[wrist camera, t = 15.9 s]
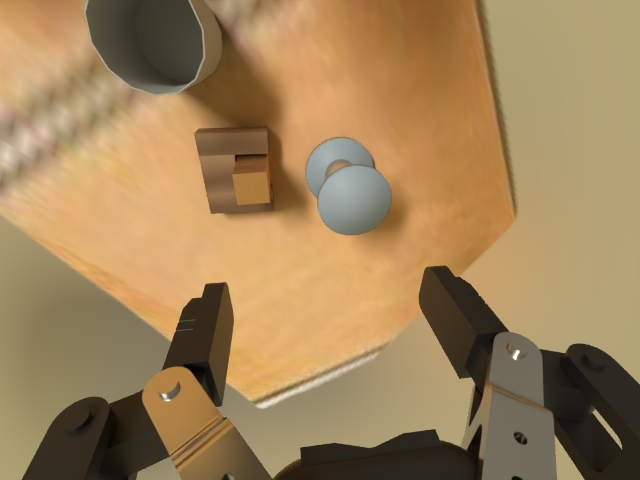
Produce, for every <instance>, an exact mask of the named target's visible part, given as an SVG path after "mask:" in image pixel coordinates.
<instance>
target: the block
mask: <svg viewBox="0 0 640 480" xmlns="http://www.w3.org/2000/svg"><path fill="white" fill-rule="evenodd" d="M232 177H233V183H234V188H235V193H236V199H237V204H238V205H245V204H258V203H270V180H271V176H270V167H269V159H268V154H241V155H238V157H237V160H236V163H235V166H234V170H233V173H232Z"/></svg>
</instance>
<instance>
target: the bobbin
mask: <svg viewBox="0 0 640 480" xmlns="http://www.w3.org/2000/svg"><path fill="white" fill-rule="evenodd" d="M306 180H307V184H308V186H309V189H310V190H311V192H312V193H313V195H314V196H315V197H316V198H317V206H318V210H319V214H320V217H321V219H322V221H323V222H324V223H325V225H326V226H327V227H328V228H330V229H331V230H332V231H334V232H336V233H339V234H343V235H359V234H363V233H366V232H368V231H370V230H372V229H373V228H375V227H376V226H377V225H379V224H380V223H381V222H382V221H383V219H384V218H385V217H386V215H387V213H388V211H389V209H390V206H391V200H392V195H391V189H390V186H389V184H388V182H387V181H386V179H385V178H384V177H383V176H382V174H381V173H380V172H378V171H377V170H376V169H374V167H373V161H372V158H371V156H370V154H369V152H368V151H367V150H366V149H365V147H364V146H363V145H361V144H360V143H359V142H357V141H355V140H353V139H350V138H346V137H336V138H332V139H329V140H326V141H324V142H323V143H321V144H320V145H318V146H317V147H316V148H315V149H314V150H313V152H312V153H311V155H310V156H309V158H308V161H307V164H306Z"/></svg>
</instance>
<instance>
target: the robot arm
mask: <svg viewBox="0 0 640 480" xmlns="http://www.w3.org/2000/svg"><path fill="white" fill-rule="evenodd" d="M419 304H420V308H421V310H422V312H423V314H424V315H425V317H426V319H427V321H428V323H429V324H430V326H431V328H432V330H433V332H434V334H435V335H436V337H437V339H438V341H439V343H440V344H441V346H442V348H443V350H444V352H445V353H446V355H447V357H448V359H449V360H450V362H451V364H452V366H453V367H454V370H455V371H456V373H457V375H458V377H459V379H461V378H469V377H472V379H473V381H474V382H475V383H474V386H473V389H472V394H471V401H470V406H469V412H468V417H467V424H466V429H465V434H464V437H463V441H462V444H461V447H459V446H457V445H454V444H452V443H449V442H445V441H441V440H439V437H438V435H437V433H436V430H435V429H433V430H425V431H419V432H411V433H403V434H401V435H399V436H397V437H395V438H393V439H391V440H389V441H387V442H384V443H382V444H380V445H378V446H376V447H373V448H365V447H359V446H352V445H345V444H338V443H331V444H323V445H316V446H310V447H302V448H300V450H301V458H300V459H298V460H296V461H294V462H292V463H291V464H289V465H288V466H287V467H285V468H284V469H283V470H282V471H280V472H279V473H278V474H277V475H276V476H275V477H274V478H273V479H272V478H271V476H270V475H269V474H268V472H267V471H266V469H265V468H264V467H263V465H262V464H261V463H260V461H259V460H258V458H257V457H256V456H255V454H254V453H253V451H252V450H251V449H250V447H249V446H248V445H247V443H246V442H245V440H244V439H243V437H242V436H241V435H240V433H239V432H238V430H237V429H236V428H235V426H234V425H233V424H232V422H231V421H230V420H229V419H228V418H224V417H223V416H222V415H221V414H220V412H219V411H218V410H217V408H216V407H219V406H222V403H223V396H224V389H225V382H226V375H227V368H228V361H229V354H230V347H231V340H232V333H233V325H234V316H233V309H232V304H231V299H230V294H229V289H228V285H227V283H226V282H223V283H210V284H206V285H205V288H204V291H203V295H202V298H192V299H191V300H190V302H189V303H188V304H187V305H186V306H185V307H184V308H183V310H182V313H181V316H180V319H179V323H178V325H177V328H176V332H175V334H174V337H173V340H172V343H171V346H170V349H169V351H168V354H167V357H166V361H165V363H164V366H163V369H162V371H161V372H159V373H158V374H156V375H155V376H154V377H153V378H152V379H151V380H150V381H149V382H148V383H147V385H146V386H145V389H143V390H142V391H140V392H138V393H135V394H134V395H131V396H128V397H125V398H123V399H120V400H118V401H115V402H113V403H110V404H108V402H107V401H106V400H105V399H103V398H101V397H88V398H84V399H82V400H79V401H77V402H75V403H73V404H72V405H70V406H69V407H67V408H66V409H65V410H63V411H62V412H61V413H60V414H59V415H58V416H57V417H56V418H55V420H54V421H53V422H52V424H51V425H50V427H49V429H48V431H47V433H46V435H45V437H44V439H43V441H42V442H41V444H40V446H39V448H38V450H37V452H36V454H35V455H34V457H33V459H32V461H31V463H30V465H29V467H28V469H27V471H26V473H25V475H24V476H23V478H22V480H136V477H137V473H138V471H140V470H142V469H145V468H146V467H149V466H151V465H153V464H155V463H157V462H159V461H161V460H163V459H166V458H167V457H171V459H172V461H173V464H174V466H175V468H176V469H177V471H178V473H179V475H180V477H181V479H182V480H557V474H556V455H555V437H554V434H555V435H556V437H557V438H558V440H559V442H560V443H561V445H562V446H563V448H564V449H565V451H566V452H567V453H568V455H569V457H570V458H571V460H572V461H573V462H574V464H575V466H576V467H577V469H578V470H579V472H580V473H581V475H582V476H583V478H584V479H585V480H640V384H639V383H638V382H637V381H635V379H634V378H633V377H631V375H630V374H628V372H627V371H625V370H624V368H623V367H621V366H620V365H619V364H618V363H617V362H616V361H615V360H614V359H613V358H612V357H611V356H609V355H608V354H607V353H605V352H604V351H602V350H600V349H598V348H596V347H593V346H590V345H586V344H573V345H571V346H570V347H569V348H568V349H567V351H566V353H560V352H554V351H548V350H542V349H538V347H537V346H536V345H535V344H534V343H533V342H532V341H530V340H529V339H527V338H526V337H524V336H522V335H519V334H516V333H512V332H509V331H508V329H507V328H506V327H505V326H504V325H503V323H502V322H501V321H500V320H499V318H498V317H497V316H496V315H495V314H494V312H493V311H492V310H491V309H490V308H489V306H488V305H487V304H485V301H484V300H483V299H482V298H481V296H479V295H478V293H477V292H476V290H475V289H474V288H473V287H472V286H471V284H469V283H468V282H466V281H465V280H463V279H462V278H460V277H455V276H454V275H453V273H452V272H451V271H450V270H449V268H448V267H447V266H433V267H426V269H425V271H424V275H423V279H422V284H421V288H420V292H419ZM595 409H596V410H597V411H598V412H599V414H600V415H601V416H602V417H603V419H604V420H605V421H606V422H607V423H608V424H609V426H610V427H611V428H612V429H613V431H614V432H615V433H616V434H617V436H618V437H619V439H620V441H621V444H622V449H621V448H620V447H619V445H618V444H617V443H616V442H615V440H614V439H613V438H612V437H611V435H610V434H609V433H608V432H607V431H606V429H605V428H604V427H603V425H602V424H601V423H600V422H599V421H598V419H597V418H596V417H595V415H594V414H593V413H592V412H593V411H594V410H595Z"/></svg>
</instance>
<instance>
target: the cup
mask: <svg viewBox="0 0 640 480" xmlns="http://www.w3.org/2000/svg"><path fill="white" fill-rule="evenodd" d="M84 16H85V20H86V25H87V29H88V34H89V38H90V43H91V44H92V46H93V47H94V49H95V50H96V52H97V54H98V55H99V57H100V58H101V60H102V61H103V63H104V64H105V66H106V68H107V69H108V70H109V71H110V72H111V73H113V74H114V75H115V76H116V77H118V78H119V79H120V80H121V81H123V82H124V83H125V84H126V85H128V86H129V87H130V88H132V89H135V90H138V91H141V92H144V93H147V94H151V95H154V96H162V95H170V94H178V93H180V92H182V91H184V90H186V89H188V88H190V87H192V86H194V85H196V84H198V83H200V82H202V81H203V80H204V79H206V78H207V77H208V76H210V75H211V74H212V73H213V72H215V71H216V68H217V66H218V64H219V61H220V59H221V57H222V54H223V51H222V32H221V30H220V28H219V25H218V23H217V21H216V18H215V16H214V14H213V11H212V10H211V9H210V8H209V7H208V6H207V5H206V4H205V3H204V2H203V1H202V0H86V4H85V8H84Z"/></svg>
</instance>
